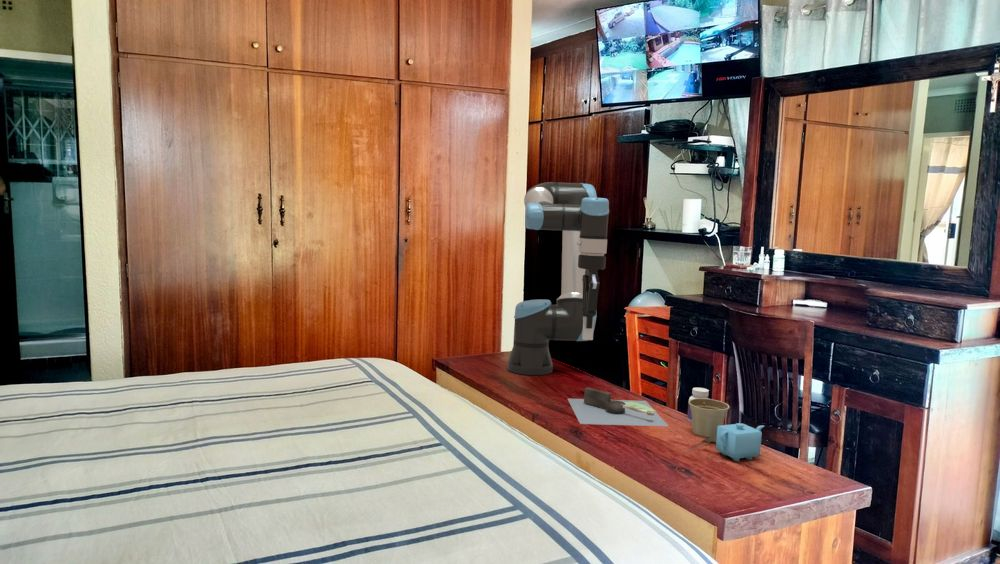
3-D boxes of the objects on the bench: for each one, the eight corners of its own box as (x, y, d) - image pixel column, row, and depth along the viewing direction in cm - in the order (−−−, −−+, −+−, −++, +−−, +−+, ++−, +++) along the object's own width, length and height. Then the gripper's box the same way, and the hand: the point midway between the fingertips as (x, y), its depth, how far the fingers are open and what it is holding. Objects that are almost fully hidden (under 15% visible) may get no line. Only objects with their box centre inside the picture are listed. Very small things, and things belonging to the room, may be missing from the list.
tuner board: (567, 403, 187) (567, 397, 187) (645, 406, 188) (646, 400, 188) (579, 429, 165) (580, 423, 165) (668, 432, 167) (669, 425, 166)
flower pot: (729, 447, 158) (732, 411, 157) (687, 443, 159) (690, 407, 158) (724, 434, 167) (726, 400, 166) (684, 430, 169) (687, 396, 168)
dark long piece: (658, 418, 171) (659, 403, 171) (648, 423, 167) (649, 407, 167) (590, 400, 185) (591, 386, 185) (579, 404, 181) (580, 389, 181)
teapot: (752, 449, 157) (755, 417, 156) (771, 458, 152) (774, 426, 151) (709, 453, 153) (712, 421, 152) (727, 463, 147) (730, 430, 146)
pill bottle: (696, 431, 168) (699, 393, 167) (682, 424, 173) (684, 387, 172) (713, 429, 171) (716, 391, 170) (698, 422, 176) (701, 385, 175)
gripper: (574, 252, 191) (570, 334, 194) (582, 255, 178) (577, 343, 181) (601, 253, 192) (596, 335, 194) (610, 256, 179) (605, 344, 181)
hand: (587, 339), depth 187 cm, fingers closed
